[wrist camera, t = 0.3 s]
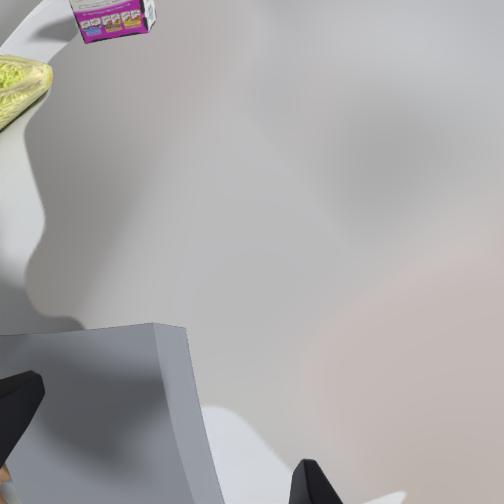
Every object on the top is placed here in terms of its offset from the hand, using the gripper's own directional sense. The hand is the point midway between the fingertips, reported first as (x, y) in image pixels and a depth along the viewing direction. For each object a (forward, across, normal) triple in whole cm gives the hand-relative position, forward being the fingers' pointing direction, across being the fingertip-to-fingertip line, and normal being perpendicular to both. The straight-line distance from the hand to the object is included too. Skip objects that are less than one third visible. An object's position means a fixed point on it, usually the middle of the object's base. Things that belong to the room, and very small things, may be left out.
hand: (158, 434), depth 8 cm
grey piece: (+9, +5, +14) cm, 17 cm away
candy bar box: (+33, +27, -26) cm, 50 cm away
